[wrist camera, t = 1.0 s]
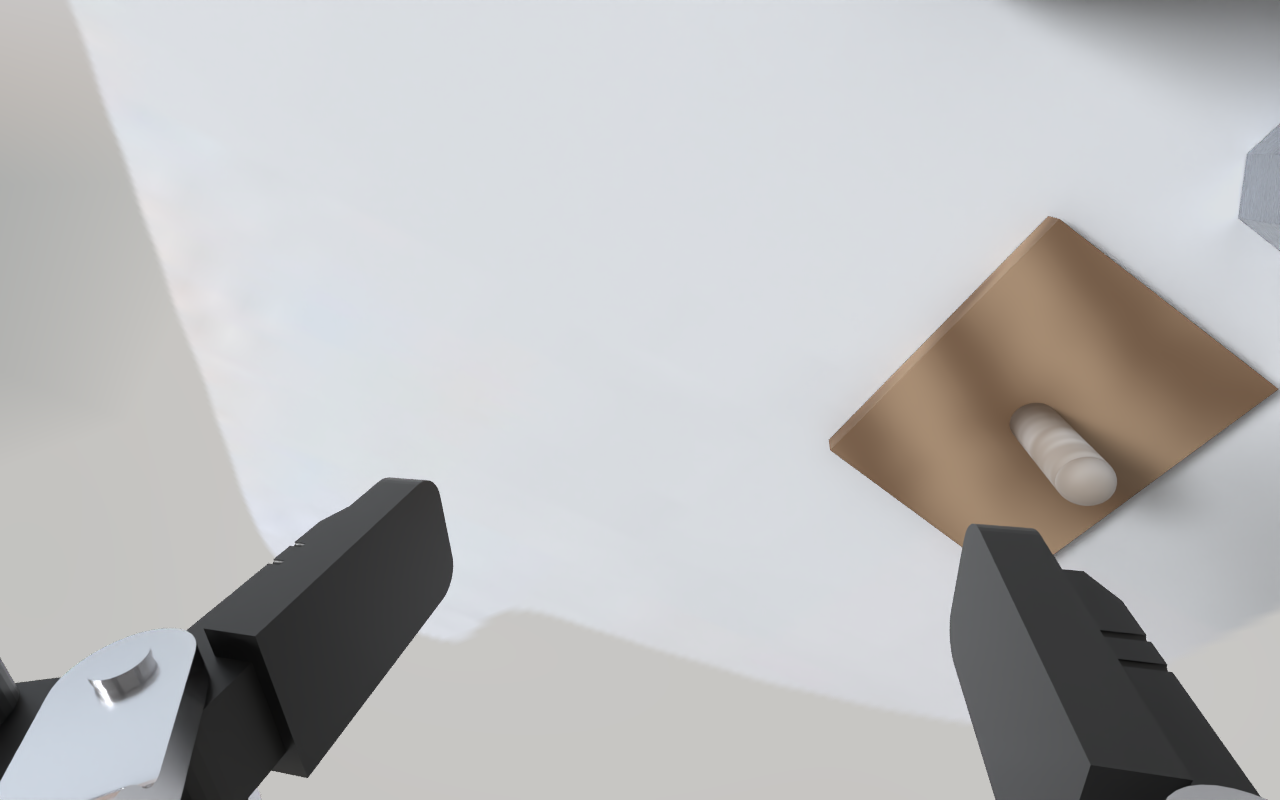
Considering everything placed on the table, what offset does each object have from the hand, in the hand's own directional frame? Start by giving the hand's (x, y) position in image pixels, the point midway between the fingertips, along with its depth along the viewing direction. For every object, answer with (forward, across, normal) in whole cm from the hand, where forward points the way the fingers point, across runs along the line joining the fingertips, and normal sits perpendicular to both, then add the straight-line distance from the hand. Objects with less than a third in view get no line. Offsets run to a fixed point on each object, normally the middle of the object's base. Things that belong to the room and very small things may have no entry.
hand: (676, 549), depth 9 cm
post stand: (+23, -13, +7) cm, 27 cm away
